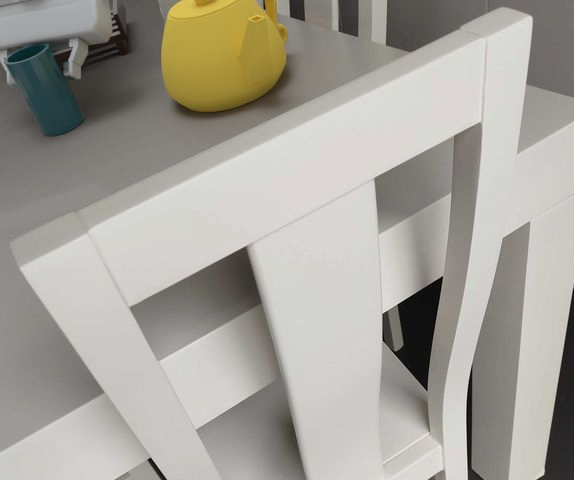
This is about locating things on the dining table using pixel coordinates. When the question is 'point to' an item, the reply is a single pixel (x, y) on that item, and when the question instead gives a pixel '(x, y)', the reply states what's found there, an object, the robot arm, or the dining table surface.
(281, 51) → the teapot
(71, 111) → the cup
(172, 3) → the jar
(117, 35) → the rack
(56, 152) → the dining table surface
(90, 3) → the robot arm
